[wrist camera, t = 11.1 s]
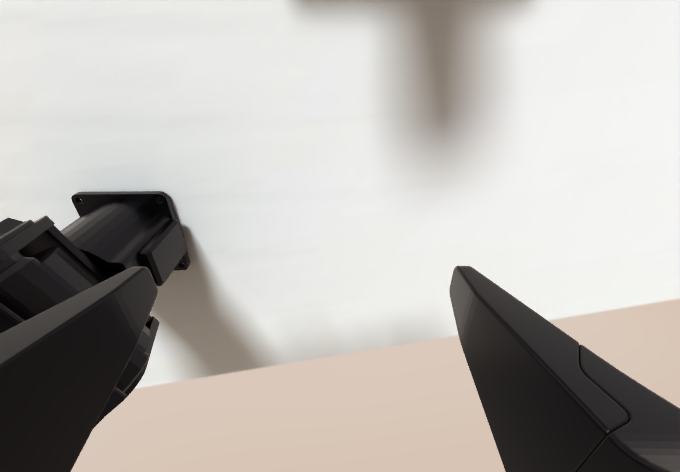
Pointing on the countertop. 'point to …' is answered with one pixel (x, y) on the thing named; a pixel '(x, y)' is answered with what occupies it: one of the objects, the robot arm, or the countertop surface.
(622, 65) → the countertop surface
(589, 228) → the countertop surface
